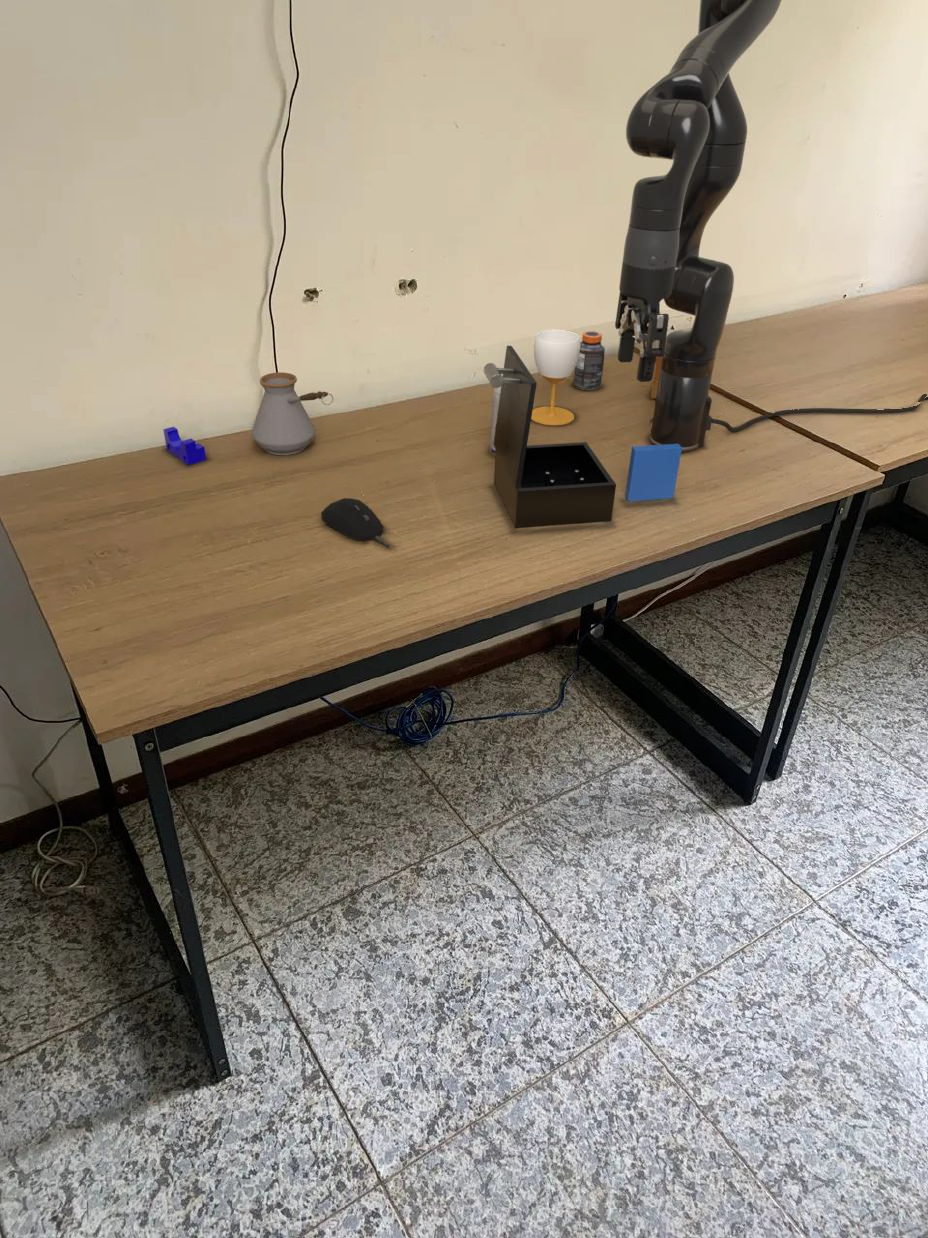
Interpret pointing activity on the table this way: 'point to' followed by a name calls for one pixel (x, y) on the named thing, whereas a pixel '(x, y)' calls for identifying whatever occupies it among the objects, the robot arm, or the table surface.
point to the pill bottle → (590, 362)
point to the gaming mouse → (353, 519)
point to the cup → (555, 370)
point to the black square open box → (557, 487)
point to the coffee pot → (283, 416)
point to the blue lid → (653, 472)
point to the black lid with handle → (512, 412)
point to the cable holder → (183, 447)
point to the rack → (553, 480)
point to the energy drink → (494, 415)
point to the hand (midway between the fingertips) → (634, 370)
